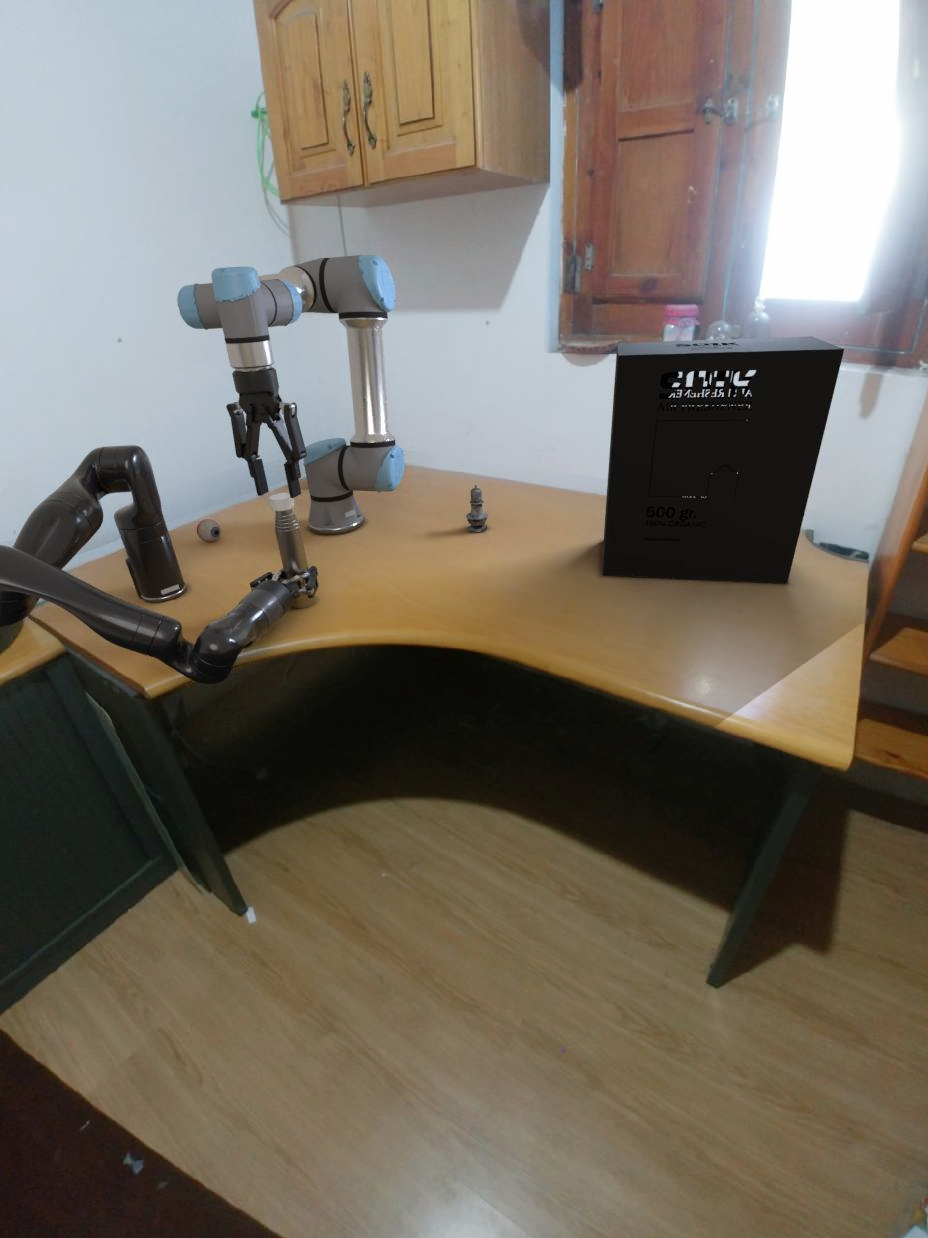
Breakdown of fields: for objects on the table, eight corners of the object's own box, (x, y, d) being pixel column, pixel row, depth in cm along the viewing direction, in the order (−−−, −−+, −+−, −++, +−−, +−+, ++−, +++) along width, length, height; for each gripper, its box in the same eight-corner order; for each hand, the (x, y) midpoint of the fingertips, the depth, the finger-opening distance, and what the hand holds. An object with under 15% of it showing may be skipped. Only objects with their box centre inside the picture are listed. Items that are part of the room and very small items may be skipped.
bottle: (286, 605, 129) (262, 500, 118) (302, 595, 133) (281, 492, 121) (303, 610, 127) (280, 503, 115) (319, 600, 131) (299, 495, 119)
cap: (266, 509, 119) (263, 498, 117) (283, 502, 122) (280, 491, 121) (282, 512, 116) (280, 501, 115) (299, 505, 120) (297, 494, 119)
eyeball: (210, 546, 160) (204, 525, 157) (195, 542, 163) (189, 521, 160) (228, 538, 164) (223, 518, 161) (213, 535, 167) (208, 514, 164)
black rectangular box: (766, 545, 143) (811, 336, 120) (787, 583, 126) (844, 348, 103) (603, 539, 150) (617, 342, 128) (602, 575, 133) (618, 355, 111)
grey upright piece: (486, 532, 159) (485, 488, 152) (464, 532, 160) (462, 487, 154) (490, 524, 163) (488, 481, 157) (469, 523, 165) (466, 480, 159)
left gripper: (234, 621, 118) (276, 583, 132) (301, 627, 115) (336, 586, 129) (225, 587, 114) (269, 551, 128) (294, 592, 111) (331, 554, 125)
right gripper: (313, 364, 106) (333, 491, 118) (221, 365, 112) (248, 486, 124) (289, 370, 100) (313, 503, 112) (193, 371, 106) (225, 497, 117)
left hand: (302, 569), depth 129 cm, fingers closed on bottle, 5 cm apart
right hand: (279, 494), depth 118 cm, fingers open, 7 cm apart
